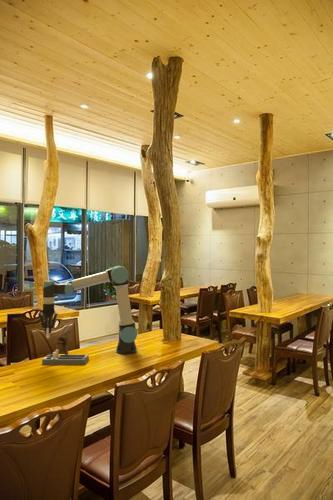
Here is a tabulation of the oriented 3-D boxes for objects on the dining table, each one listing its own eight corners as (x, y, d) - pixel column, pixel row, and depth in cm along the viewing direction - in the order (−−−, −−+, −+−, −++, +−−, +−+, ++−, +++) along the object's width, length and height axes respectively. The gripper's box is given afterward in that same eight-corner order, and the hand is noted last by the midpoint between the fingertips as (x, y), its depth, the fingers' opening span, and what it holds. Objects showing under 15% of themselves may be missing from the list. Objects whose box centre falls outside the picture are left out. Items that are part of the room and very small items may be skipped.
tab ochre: (60, 357, 244) (60, 349, 245) (59, 358, 241) (59, 350, 241) (54, 357, 244) (54, 349, 245) (53, 358, 241) (53, 350, 241)
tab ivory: (58, 359, 239) (58, 351, 239) (56, 360, 236) (56, 353, 236) (52, 359, 239) (52, 351, 239) (50, 360, 236) (50, 353, 236)
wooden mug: (63, 357, 250) (63, 331, 251) (52, 353, 259) (52, 328, 259) (73, 354, 257) (74, 329, 257) (63, 351, 266) (63, 327, 266)
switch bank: (88, 359, 246) (88, 354, 246) (84, 364, 234) (84, 359, 234) (48, 358, 246) (48, 354, 246) (42, 364, 234) (42, 359, 234)
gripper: (59, 302, 247) (59, 336, 247) (41, 302, 247) (40, 336, 247) (56, 304, 240) (55, 339, 239) (37, 303, 240) (36, 338, 239)
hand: (48, 337), depth 243 cm, fingers closed
